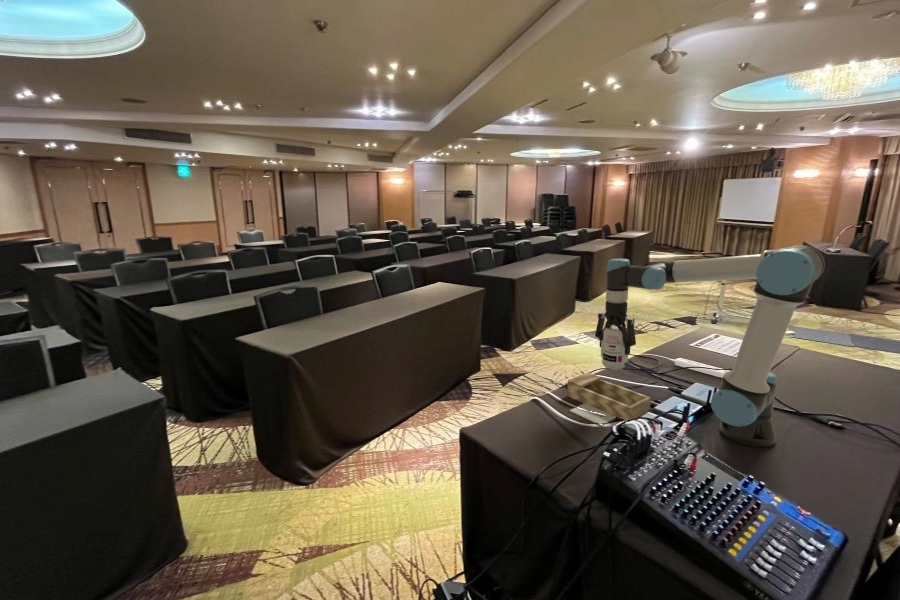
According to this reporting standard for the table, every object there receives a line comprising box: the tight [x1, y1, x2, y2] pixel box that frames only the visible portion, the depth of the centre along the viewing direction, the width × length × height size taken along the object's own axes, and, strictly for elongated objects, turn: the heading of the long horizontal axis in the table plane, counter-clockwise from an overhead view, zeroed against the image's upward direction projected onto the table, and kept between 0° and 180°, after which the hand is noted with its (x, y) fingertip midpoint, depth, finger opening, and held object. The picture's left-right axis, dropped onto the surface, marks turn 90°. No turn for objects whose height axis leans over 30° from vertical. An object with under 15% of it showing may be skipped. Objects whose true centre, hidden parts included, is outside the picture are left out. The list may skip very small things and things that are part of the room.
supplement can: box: [601, 325, 626, 370], centre depth 155 cm, size 8×8×15 cm
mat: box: [569, 403, 617, 425], centre depth 154 cm, size 14×9×1 cm, turn 35°
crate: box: [566, 371, 651, 420], centre depth 161 cm, size 28×13×7 cm, turn 35°
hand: (613, 358), depth 156 cm, fingers closed on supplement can, 8 cm apart
